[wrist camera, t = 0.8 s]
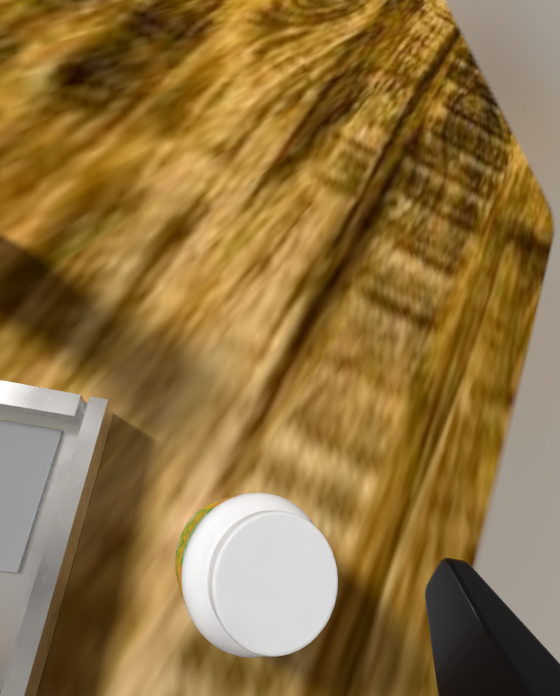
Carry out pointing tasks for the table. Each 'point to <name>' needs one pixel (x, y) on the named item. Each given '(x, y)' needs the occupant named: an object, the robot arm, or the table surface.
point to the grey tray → (41, 516)
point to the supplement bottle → (256, 575)
